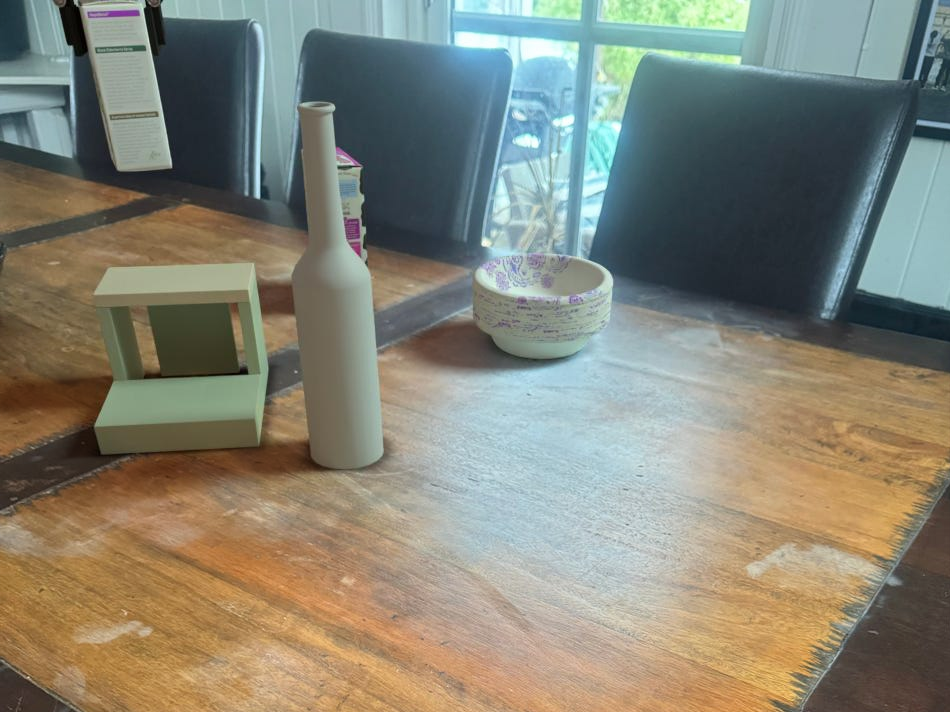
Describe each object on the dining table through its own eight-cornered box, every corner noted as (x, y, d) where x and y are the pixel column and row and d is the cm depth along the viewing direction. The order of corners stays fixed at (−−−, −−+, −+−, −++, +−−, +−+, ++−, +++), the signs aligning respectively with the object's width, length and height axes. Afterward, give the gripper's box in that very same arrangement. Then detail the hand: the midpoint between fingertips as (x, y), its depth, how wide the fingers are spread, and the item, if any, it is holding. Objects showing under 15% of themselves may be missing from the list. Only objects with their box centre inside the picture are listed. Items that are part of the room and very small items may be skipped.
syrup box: (174, 168, 98) (145, 0, 89) (114, 173, 96) (79, 1, 87) (165, 157, 102) (138, -5, 93) (108, 161, 100) (74, -4, 91)
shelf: (101, 457, 85) (68, 335, 78) (133, 376, 99) (108, 267, 92) (259, 448, 86) (240, 328, 79) (269, 370, 100) (253, 262, 93)
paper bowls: (534, 383, 98) (538, 307, 93) (445, 340, 107) (444, 269, 102) (635, 348, 106) (643, 276, 101) (544, 311, 115) (547, 243, 110)
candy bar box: (373, 313, 114) (364, 164, 104) (333, 318, 113) (319, 168, 102) (350, 284, 122) (339, 144, 112) (312, 289, 121) (297, 147, 111)
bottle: (372, 433, 89) (347, 94, 72) (392, 464, 84) (371, 109, 67) (303, 444, 87) (261, 99, 70) (320, 477, 82) (279, 115, 65)
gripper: (-46, -193, 77) (18, 61, 89) (171, -188, 80) (207, 59, 91) (-22, -187, 83) (35, 50, 94) (179, -183, 85) (212, 48, 97)
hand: (119, 52), depth 93 cm, fingers closed on syrup box, 6 cm apart
